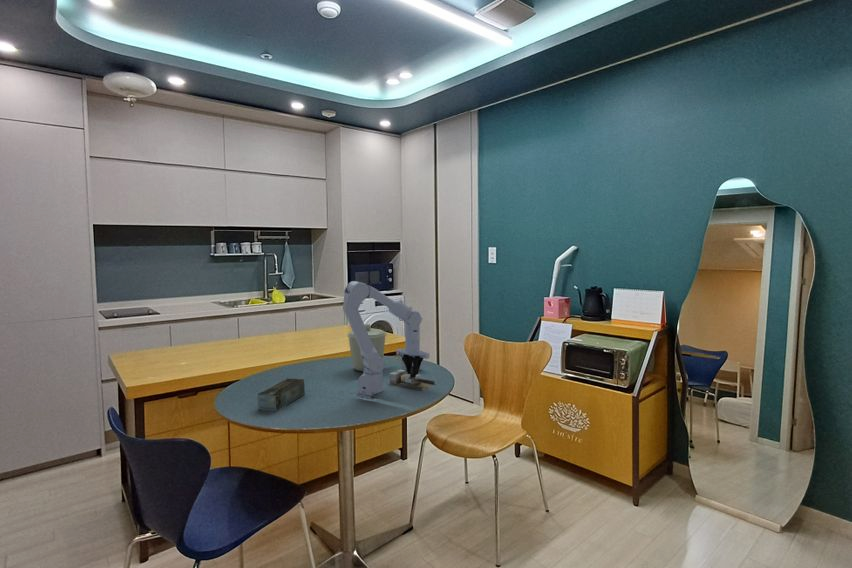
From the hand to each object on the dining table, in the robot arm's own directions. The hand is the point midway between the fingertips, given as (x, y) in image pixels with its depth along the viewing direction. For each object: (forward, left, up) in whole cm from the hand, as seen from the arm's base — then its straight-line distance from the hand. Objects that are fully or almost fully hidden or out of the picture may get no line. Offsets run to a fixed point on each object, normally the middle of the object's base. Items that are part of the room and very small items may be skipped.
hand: (412, 374), depth 180 cm
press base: (0, +1, -6) cm, 6 cm away
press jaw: (0, 0, -4) cm, 4 cm away
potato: (0, +3, -4) cm, 5 cm away
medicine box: (+18, +13, -6) cm, 23 cm away
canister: (+13, +34, -6) cm, 37 cm away
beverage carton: (-38, +33, -6) cm, 50 cm away
